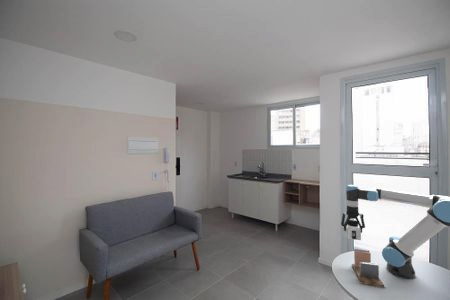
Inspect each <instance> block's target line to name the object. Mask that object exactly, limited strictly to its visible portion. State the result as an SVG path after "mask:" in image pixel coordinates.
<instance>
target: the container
mask: <svg viewBox="0 0 450 300" xmlns="http://www.w3.org/2000/svg"><path fill="white" fill-rule="evenodd" d="M358 227H359V225H358V222H357V221H356V219H350V220H349V222H348V224H347V233H348V236H346V238H347V239H349V240H353V241H362V233H361V230H360V229H359V228H358Z"/></svg>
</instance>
